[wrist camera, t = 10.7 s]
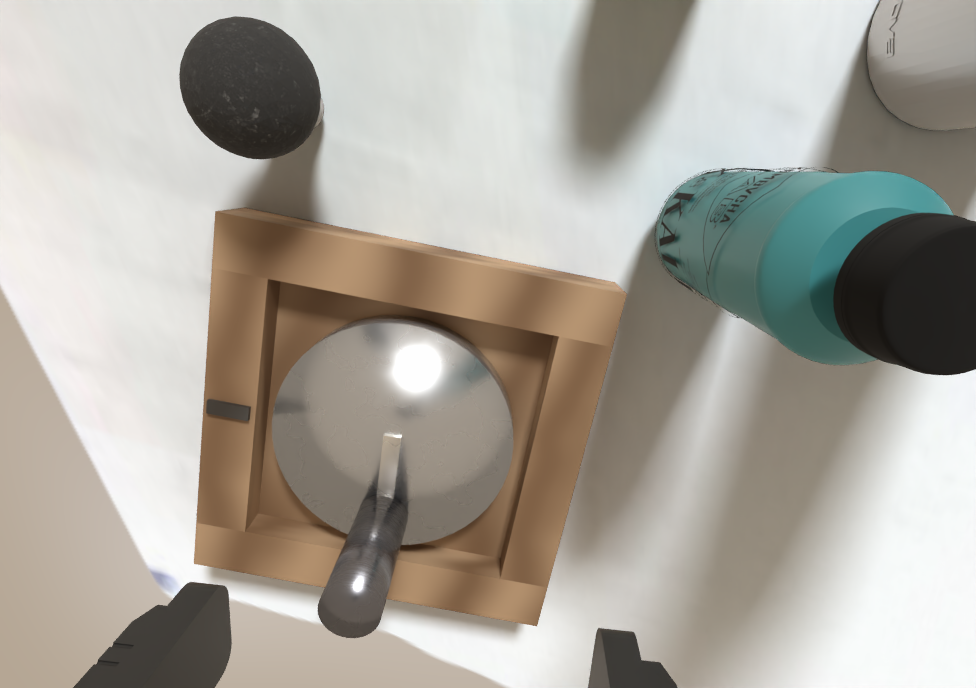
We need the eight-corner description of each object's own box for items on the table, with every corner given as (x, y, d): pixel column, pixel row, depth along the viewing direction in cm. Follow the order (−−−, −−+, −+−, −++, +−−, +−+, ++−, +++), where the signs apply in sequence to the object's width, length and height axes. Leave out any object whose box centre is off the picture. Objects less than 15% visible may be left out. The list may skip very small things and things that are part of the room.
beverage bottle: (783, 214, 33) (1179, 271, 14) (704, 307, 34) (957, 474, 15) (696, 143, 32) (990, 96, 13) (619, 241, 33) (775, 331, 14)
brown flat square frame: (614, 282, 34) (628, 295, 30) (534, 588, 40) (537, 630, 37) (244, 207, 33) (211, 211, 30) (220, 530, 40) (190, 567, 36)
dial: (291, 297, 33) (204, 347, 24) (531, 335, 33) (542, 399, 24) (278, 508, 37) (200, 624, 28) (493, 540, 37) (490, 667, 28)
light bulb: (378, 104, 32) (323, 74, 22) (316, 183, 33) (239, 187, 23) (296, 28, 31) (202, -38, 21) (236, 113, 32) (121, 87, 22)
